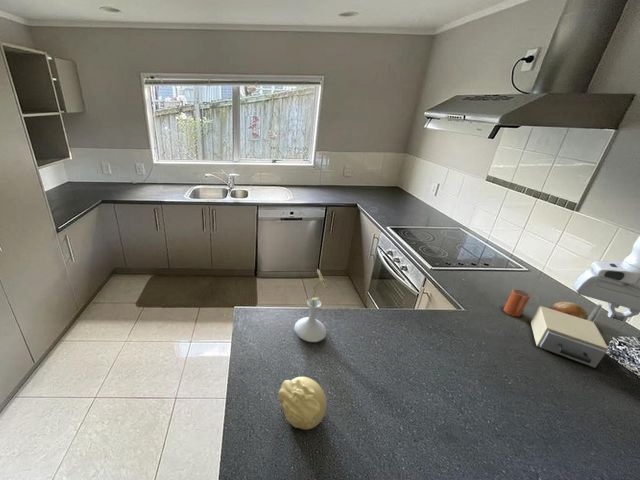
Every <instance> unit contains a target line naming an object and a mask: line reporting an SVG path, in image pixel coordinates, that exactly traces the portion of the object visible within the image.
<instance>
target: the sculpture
mask: <svg viewBox="0 0 640 480" xmlns="http://www.w3.org/2000/svg"><path fill="white" fill-rule="evenodd" d="M277 398H278V402H279V403H280V404H281V405H280V406H281V408H282V411H283V414H284V416H285V419H286V421H287V423H288V424H290V425H291V426H292V427H294V428H295V429H297V428H298V429H300V430H311V429H314V428H316V427H317V426H318V425H319V424H320V423H321V422H322V420H323V419H324V417H325V415H326V412H327V398H326V394H325V392H324V389H323V388H322V387H321V386H320V384H319V382H317V381H315V379H313V378H311V377H307V376H296V377H294V378H292V379H285V380H284V381H283V382H282V384H281V386H280V389H279V391H278V397H277Z"/></svg>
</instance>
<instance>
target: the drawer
mask: <svg viewBox="0 0 640 480" xmlns="http://www.w3.org/2000/svg"><path fill="white" fill-rule="evenodd" d="M540 347H541V348H540ZM540 347H539V348H540V349H543V348H544V350H545V349H547V350H546V351H548V350H549V351H548V352H551V351H552V352H551V353H554V352H555V353H554V354H556V353H557V355H559V354H560V355H559V356H562V355H563V356H562V357H564V356H566V357H565V358H567V357H568V359H570V358H571V359H570V360H572V359H574V360H573V361H575V360H576V361H575V362H578V361H579V362H578V363H581V362H582V363H581V364H583V363H584V365H586V364H587V365H586V366H589V365H590V366H589V367H591V366H593V367H592V368H594V367H595V368H597V366H598V365H597V364H599V363H600V362H601V360H602V359H603V358H604V356H605V355H606V353H605V350H603V349H600V348H599V347H596V346H593V345H590V344H587V343H584V342H581V341H578V340H575V339H572V338H569V337H566V336H564V335H561V334H558V333H555V332H552V331H548V332H547V334H546V335H545V337H544V339H543V341H542V342H541V344H540ZM604 354H605V355H604ZM603 355H604V356H603ZM601 358H602V359H601ZM599 361H600V362H599ZM598 362H599V363H598ZM596 365H597V366H596Z"/></svg>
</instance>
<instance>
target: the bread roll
mask: <svg viewBox="0 0 640 480" xmlns="http://www.w3.org/2000/svg"><path fill="white" fill-rule="evenodd" d="M551 309H553V310H556V311H559V312H562V313H565V314H569V315H572V316H575V317H578V318H582V319H585V320H587V318H588V317H589V315H588V312H587V311H586V310H585V309H584V307H582V306H580V305H579V304H577V303H575V302H570V301H558V302H556V303H554V304H553V305H552V307H551Z"/></svg>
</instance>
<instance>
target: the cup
mask: <svg viewBox="0 0 640 480" xmlns="http://www.w3.org/2000/svg"><path fill="white" fill-rule="evenodd" d="M530 298H531V295H530V293H529V292H527V291H525V290H522V289H519V288H513V289H512V290H511V292H510V294H509V296H508V298H507V301H506V303H505V304H504V307H503V312H504V313H505V314H507V315H509V316H511V317H513V318H514V317H515V318H519V317H521V316H522V314H523V312H524V310H525V308H526V306H527V304H528V302H529V300H530Z"/></svg>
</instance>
